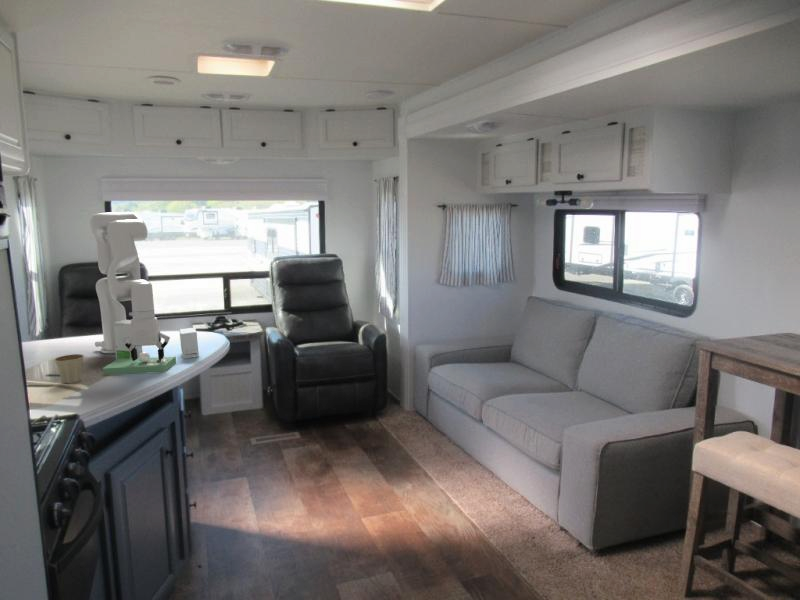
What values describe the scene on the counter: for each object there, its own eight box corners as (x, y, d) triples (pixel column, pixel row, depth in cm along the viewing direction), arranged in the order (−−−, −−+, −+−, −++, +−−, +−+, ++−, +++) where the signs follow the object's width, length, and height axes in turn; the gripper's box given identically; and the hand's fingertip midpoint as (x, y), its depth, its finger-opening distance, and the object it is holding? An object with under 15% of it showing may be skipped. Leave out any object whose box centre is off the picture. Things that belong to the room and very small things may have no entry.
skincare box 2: (181, 353, 255) (179, 328, 254) (197, 351, 258) (195, 327, 256) (182, 359, 246) (180, 333, 244) (199, 357, 248) (197, 331, 247)
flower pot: (66, 386, 211) (63, 362, 210) (51, 382, 216) (48, 359, 215) (92, 379, 219) (89, 355, 218) (77, 376, 224) (74, 353, 223)
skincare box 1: (115, 360, 246) (111, 322, 244) (128, 356, 252) (124, 319, 250) (132, 361, 243) (128, 323, 241) (144, 357, 249) (140, 320, 247)
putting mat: (103, 374, 225) (102, 368, 225) (118, 364, 239) (118, 358, 239) (164, 372, 226) (163, 366, 226) (176, 362, 240) (175, 356, 239)
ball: (149, 357, 230) (143, 365, 230) (153, 354, 234) (147, 363, 234) (140, 351, 229) (134, 359, 230) (144, 348, 233) (138, 357, 234)
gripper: (116, 317, 225) (120, 362, 228) (163, 315, 226) (167, 361, 229) (124, 314, 233) (128, 358, 235) (170, 312, 233) (174, 356, 236)
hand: (148, 359), depth 232 cm, fingers open, 9 cm apart
